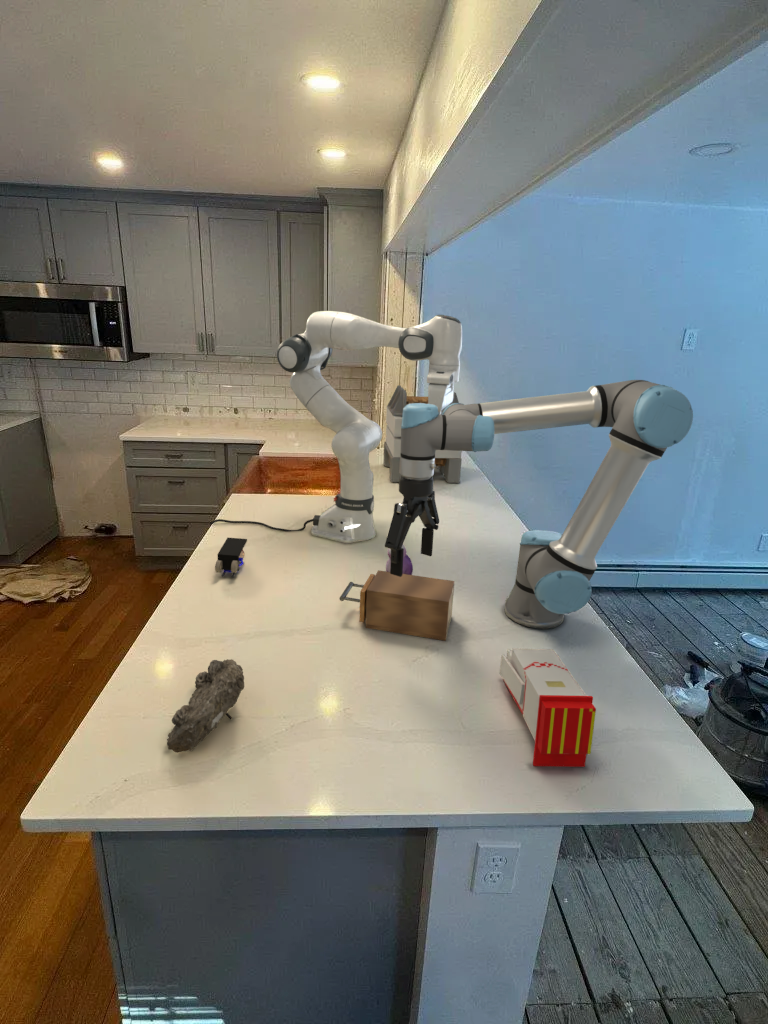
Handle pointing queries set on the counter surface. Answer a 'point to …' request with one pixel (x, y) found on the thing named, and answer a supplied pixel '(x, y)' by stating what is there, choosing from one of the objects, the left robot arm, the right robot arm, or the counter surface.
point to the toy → (550, 706)
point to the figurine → (406, 562)
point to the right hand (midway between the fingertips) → (411, 564)
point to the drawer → (362, 596)
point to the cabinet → (410, 605)
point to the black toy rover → (230, 556)
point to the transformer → (444, 459)
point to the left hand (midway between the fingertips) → (439, 422)
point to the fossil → (206, 705)
